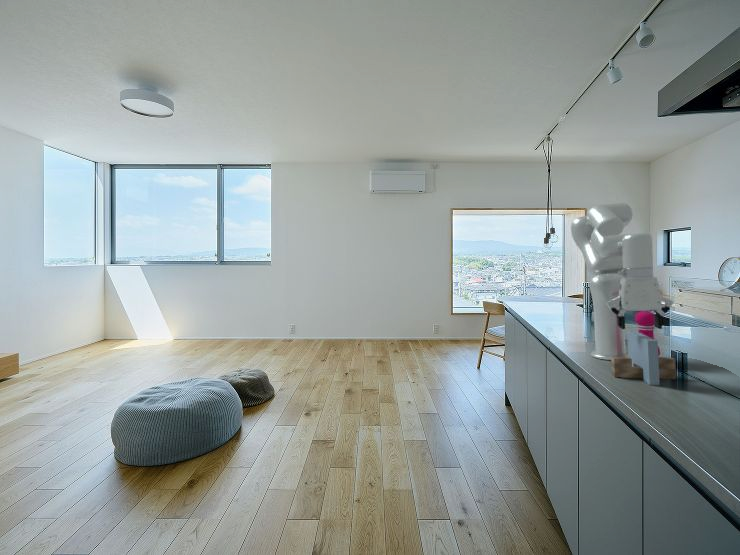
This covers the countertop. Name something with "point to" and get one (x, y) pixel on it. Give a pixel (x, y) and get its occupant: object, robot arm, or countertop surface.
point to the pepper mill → (646, 324)
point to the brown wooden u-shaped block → (626, 370)
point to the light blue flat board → (644, 355)
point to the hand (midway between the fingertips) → (639, 328)
